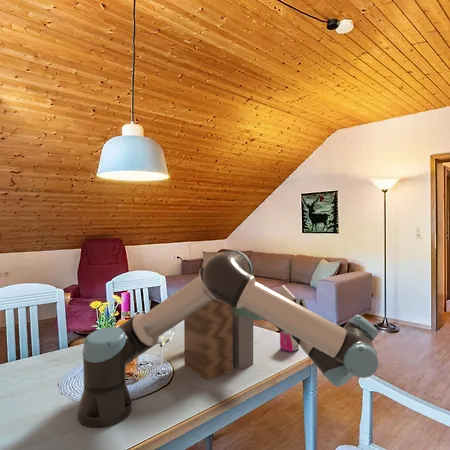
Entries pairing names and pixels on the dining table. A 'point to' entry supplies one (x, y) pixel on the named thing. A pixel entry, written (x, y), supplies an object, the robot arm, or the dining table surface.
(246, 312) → the bar
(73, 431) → the dining table surface
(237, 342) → the base block
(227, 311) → the stand
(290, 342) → the supplement box
